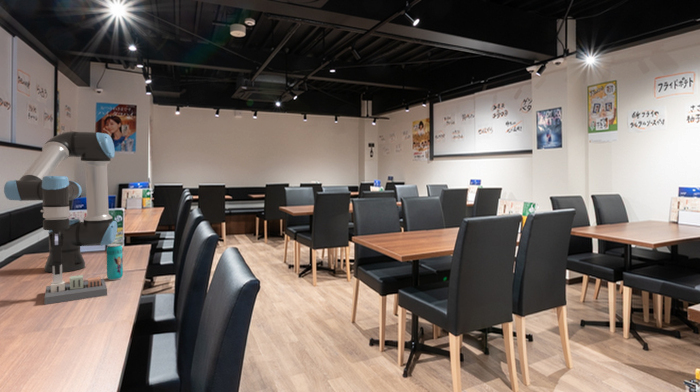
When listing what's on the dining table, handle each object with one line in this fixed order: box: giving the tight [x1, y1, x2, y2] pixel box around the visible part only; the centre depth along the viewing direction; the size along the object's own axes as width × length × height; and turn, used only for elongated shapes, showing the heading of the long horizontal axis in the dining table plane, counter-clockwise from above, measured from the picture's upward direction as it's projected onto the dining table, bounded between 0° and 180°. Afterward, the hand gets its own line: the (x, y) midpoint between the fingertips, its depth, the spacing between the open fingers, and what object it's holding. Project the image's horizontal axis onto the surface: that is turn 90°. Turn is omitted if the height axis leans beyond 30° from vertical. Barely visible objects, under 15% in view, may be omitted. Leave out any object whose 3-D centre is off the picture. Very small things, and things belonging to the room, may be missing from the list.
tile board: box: [43, 278, 108, 305], centre depth 138 cm, size 16×18×2 cm
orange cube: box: [87, 276, 102, 288], centre depth 141 cm, size 4×4×4 cm
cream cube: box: [50, 280, 66, 293], centre depth 135 cm, size 4×4×4 cm
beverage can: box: [106, 243, 124, 282], centre depth 158 cm, size 6×6×15 cm
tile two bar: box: [69, 274, 84, 290], centre depth 138 cm, size 4×4×4 cm
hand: (57, 282), depth 134 cm, fingers closed
